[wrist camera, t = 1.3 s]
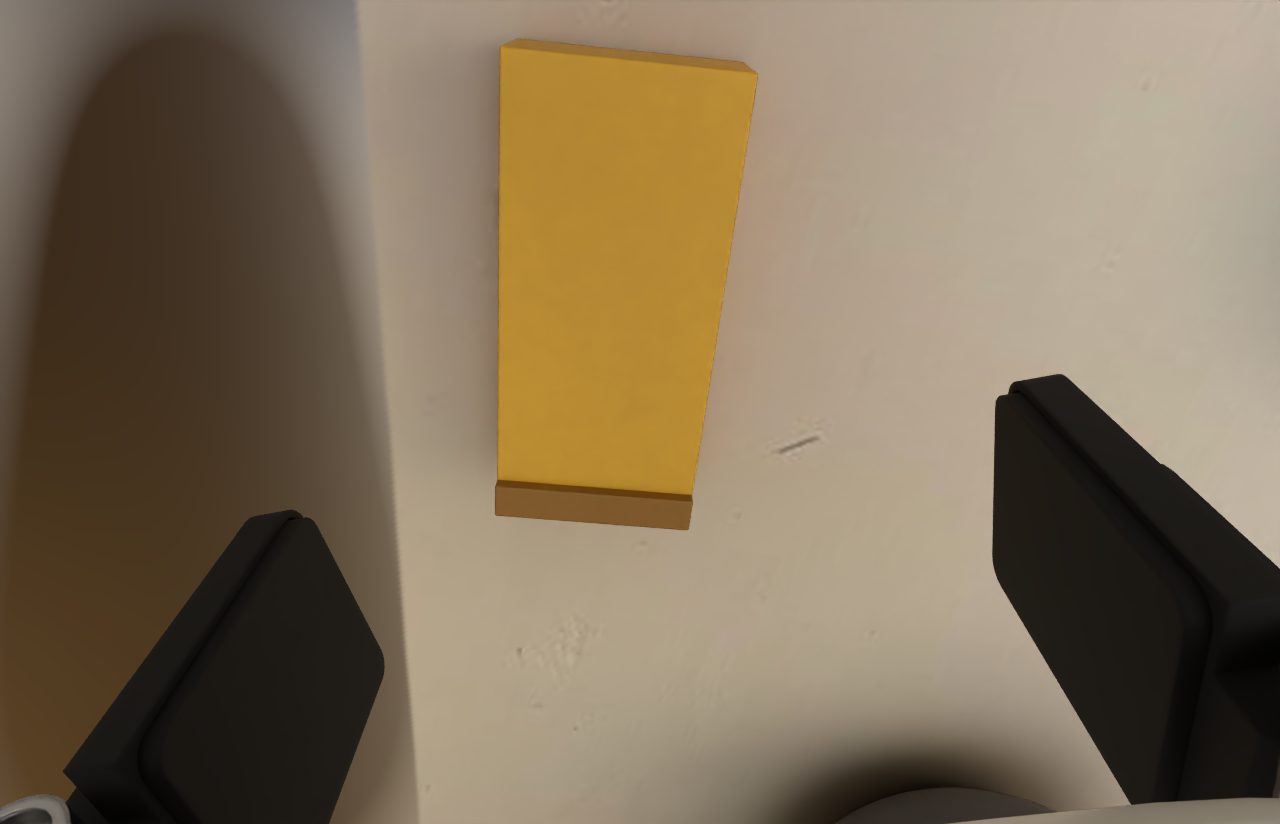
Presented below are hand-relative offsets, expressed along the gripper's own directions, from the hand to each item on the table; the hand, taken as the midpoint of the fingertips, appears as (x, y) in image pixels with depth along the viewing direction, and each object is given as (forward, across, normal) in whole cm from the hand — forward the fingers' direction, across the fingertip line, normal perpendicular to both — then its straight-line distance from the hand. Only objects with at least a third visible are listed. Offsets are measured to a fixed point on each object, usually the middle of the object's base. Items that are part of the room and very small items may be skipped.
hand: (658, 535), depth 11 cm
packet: (+16, +2, +2) cm, 16 cm away
